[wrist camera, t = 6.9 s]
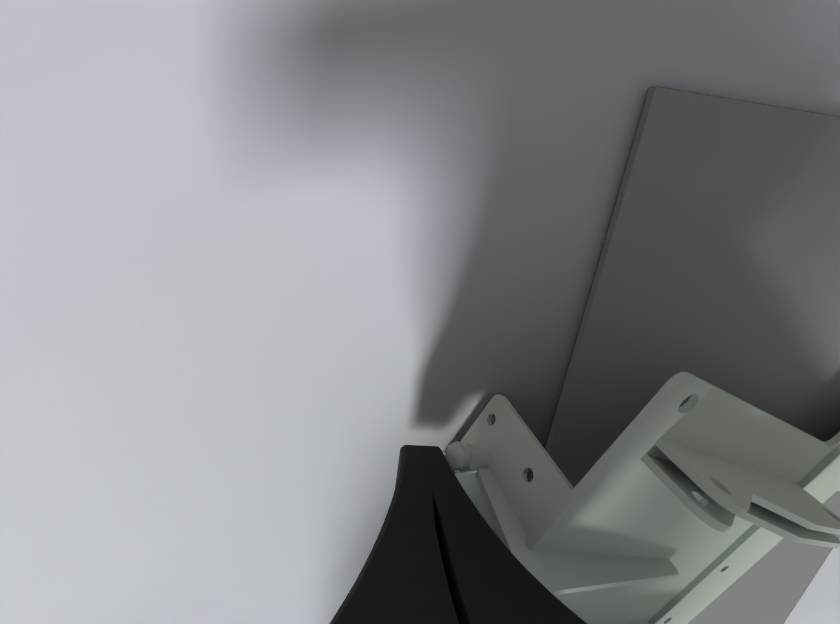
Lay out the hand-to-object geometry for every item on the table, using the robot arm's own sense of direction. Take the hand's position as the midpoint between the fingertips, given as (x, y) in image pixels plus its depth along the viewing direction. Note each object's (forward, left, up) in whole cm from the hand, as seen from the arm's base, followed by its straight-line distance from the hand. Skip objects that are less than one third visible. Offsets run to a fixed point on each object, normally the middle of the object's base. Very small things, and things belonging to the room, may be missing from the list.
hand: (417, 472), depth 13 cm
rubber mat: (-1, -11, -1) cm, 11 cm away
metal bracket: (-2, -8, -1) cm, 8 cm away
